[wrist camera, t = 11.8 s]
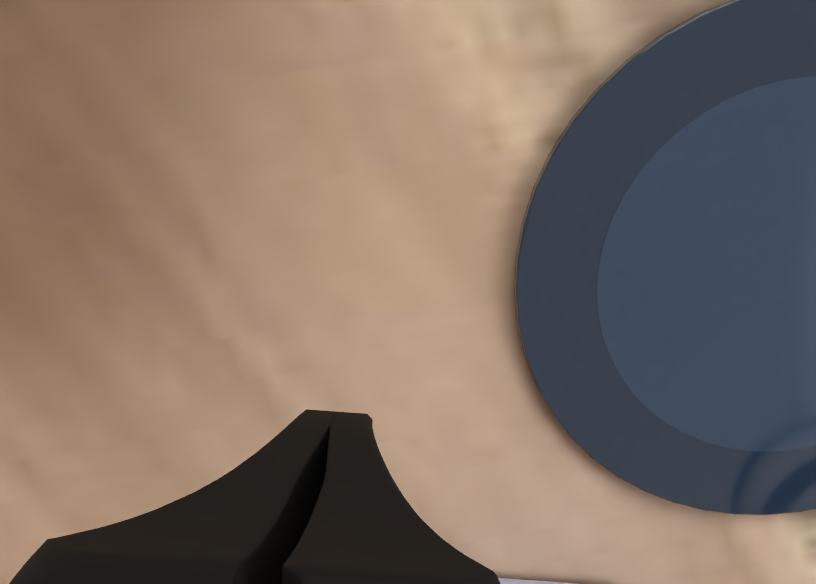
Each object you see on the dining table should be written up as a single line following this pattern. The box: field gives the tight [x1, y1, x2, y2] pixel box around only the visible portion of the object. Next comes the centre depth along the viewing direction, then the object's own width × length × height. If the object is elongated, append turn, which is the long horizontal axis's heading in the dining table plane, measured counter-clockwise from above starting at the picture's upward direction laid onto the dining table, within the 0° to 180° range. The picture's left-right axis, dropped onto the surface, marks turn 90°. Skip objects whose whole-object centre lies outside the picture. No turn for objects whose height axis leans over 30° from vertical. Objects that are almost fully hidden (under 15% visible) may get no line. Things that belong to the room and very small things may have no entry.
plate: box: [514, 0, 816, 515], centre depth 22 cm, size 17×17×1 cm
